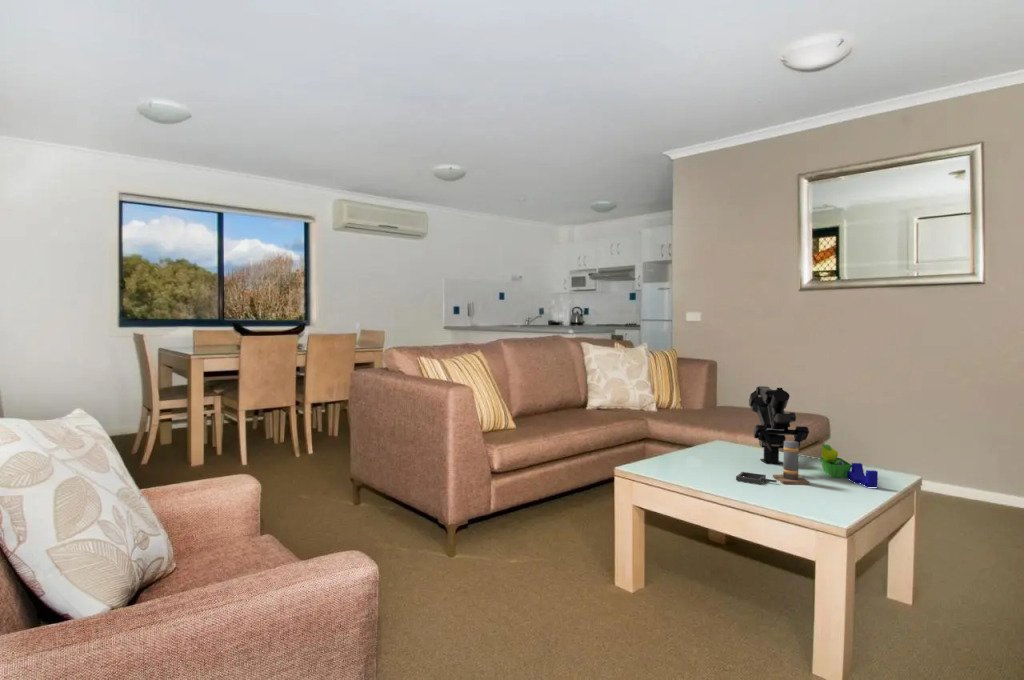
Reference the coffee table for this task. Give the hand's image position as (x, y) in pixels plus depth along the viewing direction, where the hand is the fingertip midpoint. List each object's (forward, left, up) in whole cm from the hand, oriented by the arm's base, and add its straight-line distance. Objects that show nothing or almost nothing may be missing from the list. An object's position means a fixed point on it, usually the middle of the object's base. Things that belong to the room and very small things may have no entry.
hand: (784, 451), depth 216 cm
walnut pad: (+8, -1, -9) cm, 12 cm away
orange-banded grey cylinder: (+8, -1, -8) cm, 11 cm away
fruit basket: (-2, +19, -9) cm, 21 cm away
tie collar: (+9, -13, -9) cm, 19 cm away
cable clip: (+10, +23, -9) cm, 26 cm away
